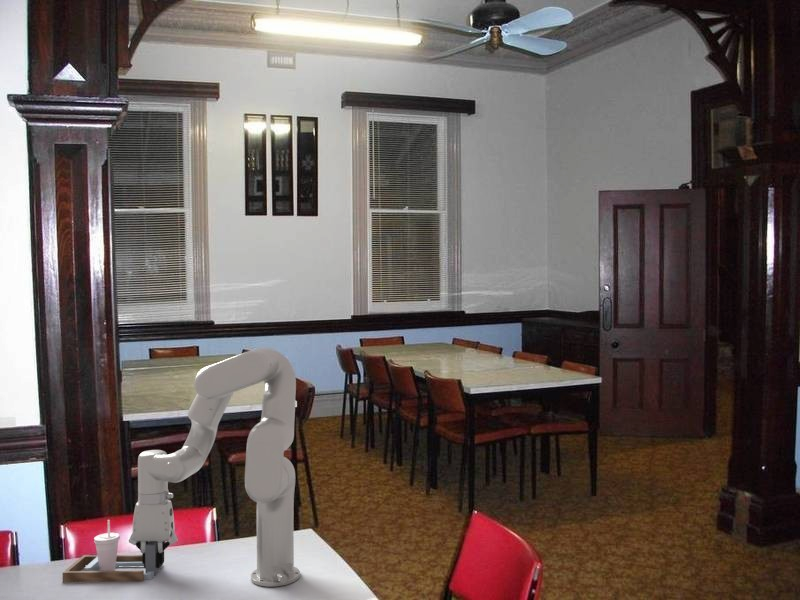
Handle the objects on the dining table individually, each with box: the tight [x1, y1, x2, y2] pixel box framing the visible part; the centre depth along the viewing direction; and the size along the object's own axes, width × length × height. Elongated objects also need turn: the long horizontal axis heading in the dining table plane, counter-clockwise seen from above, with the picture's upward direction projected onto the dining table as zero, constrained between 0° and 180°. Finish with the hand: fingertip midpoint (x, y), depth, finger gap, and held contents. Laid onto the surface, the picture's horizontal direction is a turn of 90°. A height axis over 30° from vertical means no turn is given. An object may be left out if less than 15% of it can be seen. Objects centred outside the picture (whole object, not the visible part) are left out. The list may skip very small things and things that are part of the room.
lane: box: [62, 554, 145, 583], centre depth 193 cm, size 21×12×2 cm, turn 90°
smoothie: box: [93, 519, 120, 571], centre depth 193 cm, size 6×6×14 cm
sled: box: [83, 541, 164, 580], centre depth 193 cm, size 18×9×8 cm, turn 90°
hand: (153, 565), depth 193 cm, fingers closed on sled, 2 cm apart
